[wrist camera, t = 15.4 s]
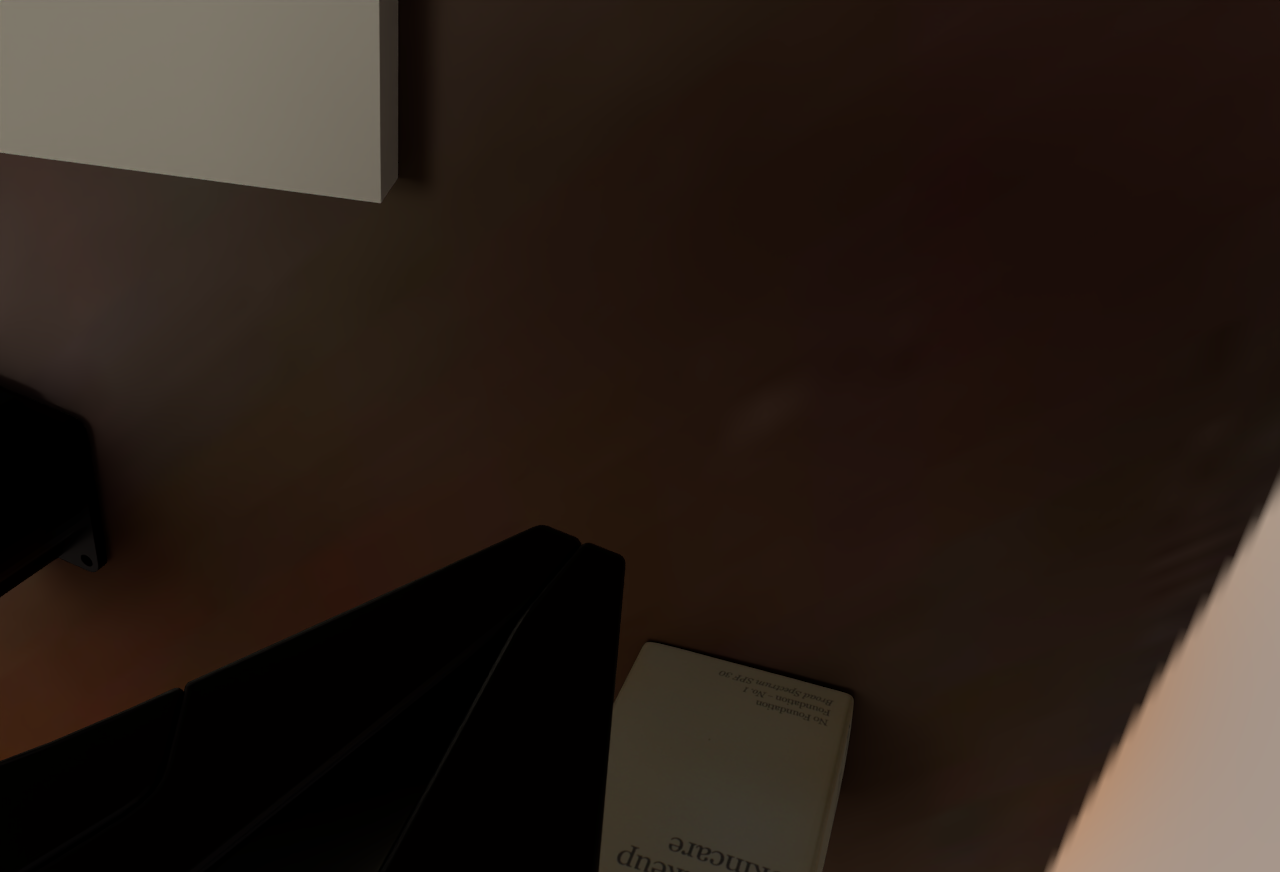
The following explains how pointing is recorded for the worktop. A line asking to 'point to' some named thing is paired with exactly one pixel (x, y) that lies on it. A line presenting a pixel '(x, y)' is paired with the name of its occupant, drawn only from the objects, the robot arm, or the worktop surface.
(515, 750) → the robot arm
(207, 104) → the domino
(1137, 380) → the worktop surface
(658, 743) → the skincare box
